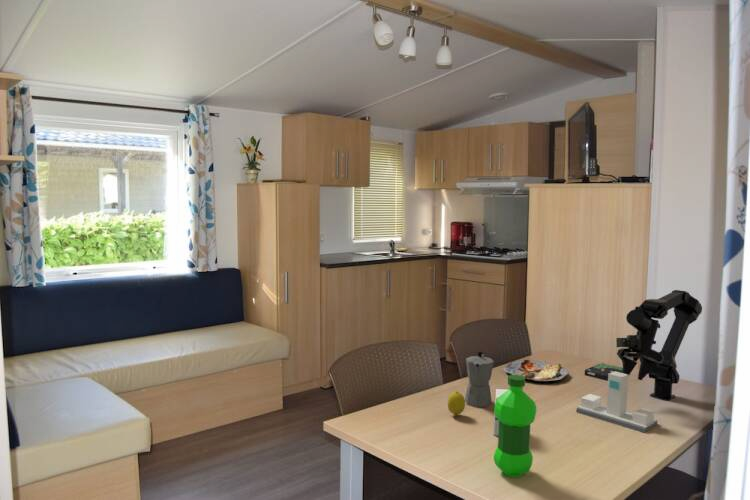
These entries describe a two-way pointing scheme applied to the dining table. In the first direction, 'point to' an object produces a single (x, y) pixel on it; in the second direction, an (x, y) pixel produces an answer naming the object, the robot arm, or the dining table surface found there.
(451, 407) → the lemon
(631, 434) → the dining table surface
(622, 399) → the block
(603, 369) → the disk drive
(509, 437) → the plastic bottle
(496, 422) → the ink box
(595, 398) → the rail board
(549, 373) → the food plate
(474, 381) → the coffeepot
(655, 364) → the robot arm
